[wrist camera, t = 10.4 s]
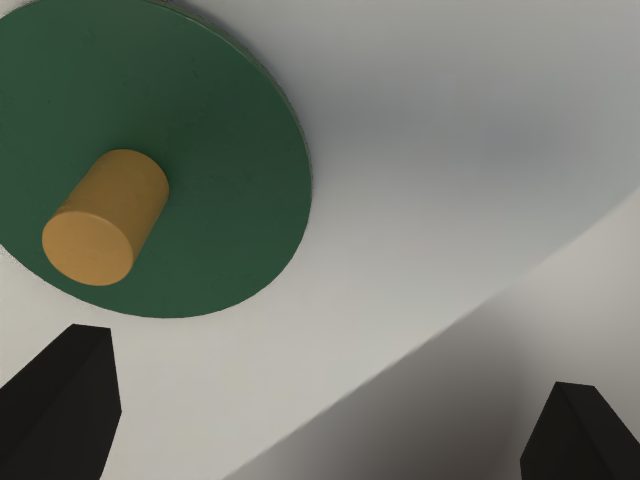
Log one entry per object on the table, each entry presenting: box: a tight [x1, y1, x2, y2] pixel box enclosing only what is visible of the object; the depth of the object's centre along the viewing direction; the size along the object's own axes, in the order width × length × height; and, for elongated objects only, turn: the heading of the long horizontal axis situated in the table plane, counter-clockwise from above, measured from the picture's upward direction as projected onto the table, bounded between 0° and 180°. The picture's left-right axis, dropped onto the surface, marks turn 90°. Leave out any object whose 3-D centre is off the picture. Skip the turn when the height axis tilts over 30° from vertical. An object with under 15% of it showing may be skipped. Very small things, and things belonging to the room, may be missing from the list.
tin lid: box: [0, 0, 313, 318], centre depth 18 cm, size 11×11×5 cm
